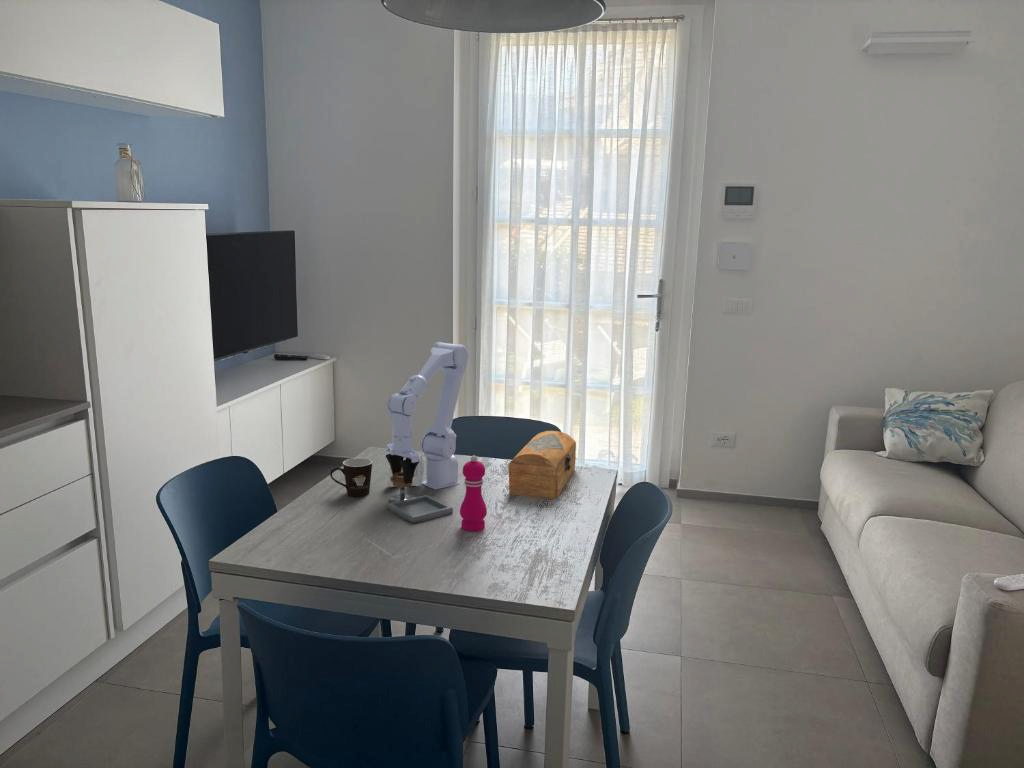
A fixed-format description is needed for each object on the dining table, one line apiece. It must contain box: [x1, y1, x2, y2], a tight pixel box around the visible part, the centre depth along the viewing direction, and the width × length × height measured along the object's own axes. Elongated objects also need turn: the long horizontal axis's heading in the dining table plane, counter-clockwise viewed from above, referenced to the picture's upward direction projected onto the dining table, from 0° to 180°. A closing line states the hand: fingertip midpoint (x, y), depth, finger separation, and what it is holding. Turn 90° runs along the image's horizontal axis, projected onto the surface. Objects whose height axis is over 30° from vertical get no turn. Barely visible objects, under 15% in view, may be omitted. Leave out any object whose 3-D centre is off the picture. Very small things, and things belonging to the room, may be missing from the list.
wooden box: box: [507, 430, 577, 500], centre depth 248 cm, size 30×16×14 cm, turn 164°
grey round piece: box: [388, 487, 416, 503], centre depth 230 cm, size 8×8×5 cm
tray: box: [387, 494, 454, 525], centre depth 222 cm, size 13×13×2 cm
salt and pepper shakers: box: [386, 453, 425, 488], centre depth 241 cm, size 12×4×11 cm, turn 115°
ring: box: [391, 471, 414, 488], centre depth 230 cm, size 5×8×3 cm
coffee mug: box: [329, 457, 373, 498], centre depth 234 cm, size 12×9×10 cm
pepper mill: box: [459, 455, 488, 532], centre depth 210 cm, size 7×7×20 cm
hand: (402, 480), depth 230 cm, fingers closed on ring, 5 cm apart
